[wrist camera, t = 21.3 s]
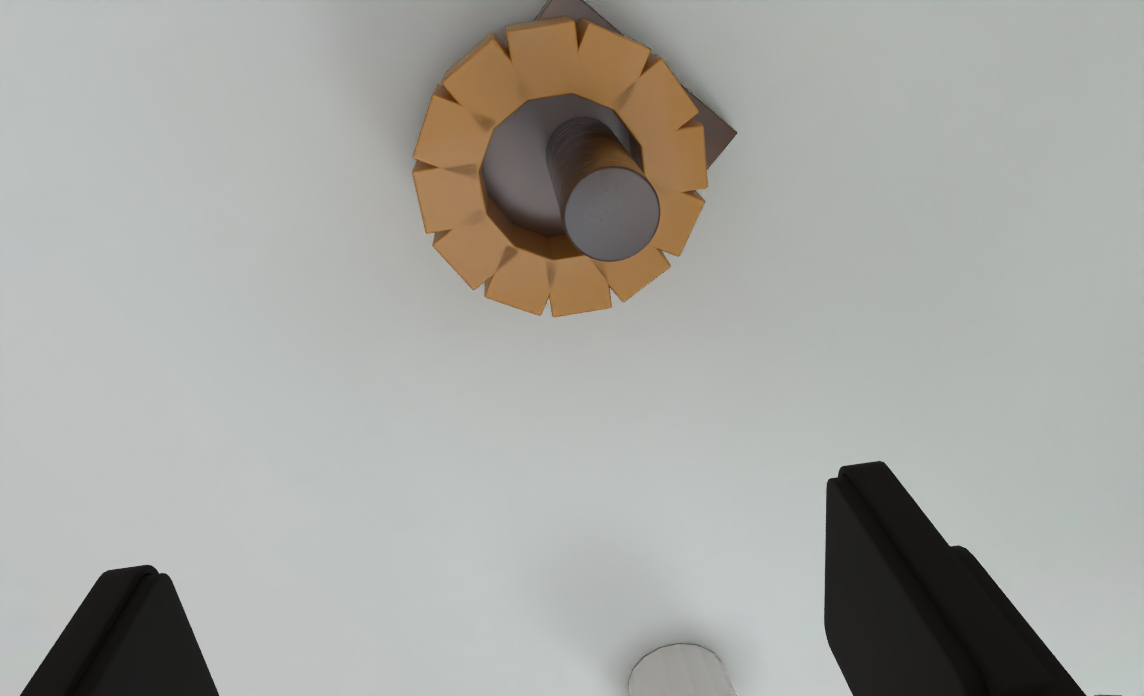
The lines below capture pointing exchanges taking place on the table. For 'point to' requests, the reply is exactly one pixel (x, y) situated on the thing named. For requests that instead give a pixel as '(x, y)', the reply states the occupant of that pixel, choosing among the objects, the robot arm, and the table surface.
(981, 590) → the robot arm
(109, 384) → the table surface
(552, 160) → the post
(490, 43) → the ring
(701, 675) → the grey cylinder
